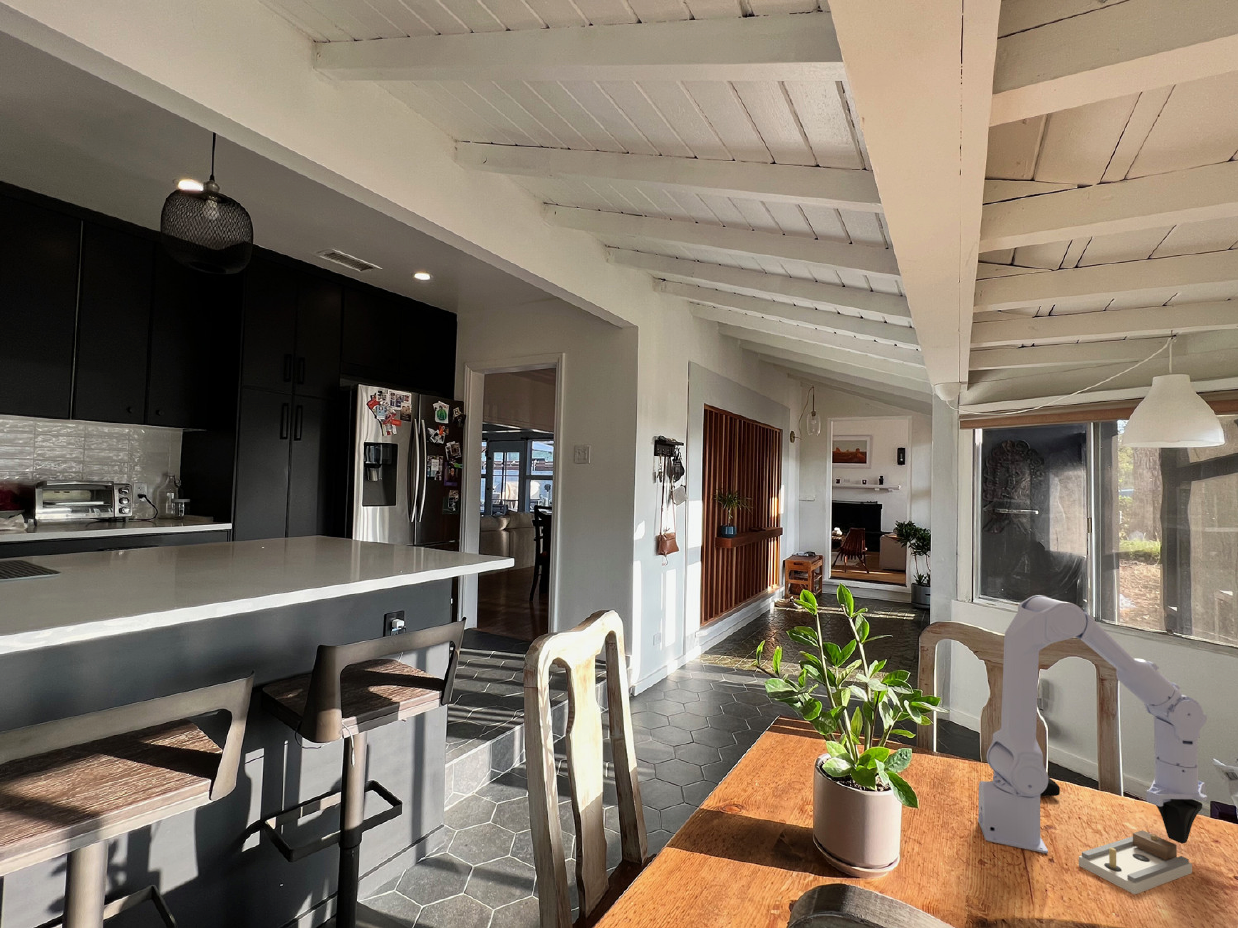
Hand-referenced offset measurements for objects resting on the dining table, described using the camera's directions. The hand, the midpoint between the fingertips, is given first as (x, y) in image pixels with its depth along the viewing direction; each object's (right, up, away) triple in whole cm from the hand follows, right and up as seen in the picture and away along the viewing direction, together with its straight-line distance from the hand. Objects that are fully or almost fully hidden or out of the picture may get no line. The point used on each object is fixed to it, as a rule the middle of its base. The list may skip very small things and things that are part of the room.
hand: (1177, 840), depth 107 cm
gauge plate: (-13, -2, -5) cm, 14 cm away
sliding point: (-7, 0, -3) cm, 7 cm away
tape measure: (-9, -4, +23) cm, 25 cm away
